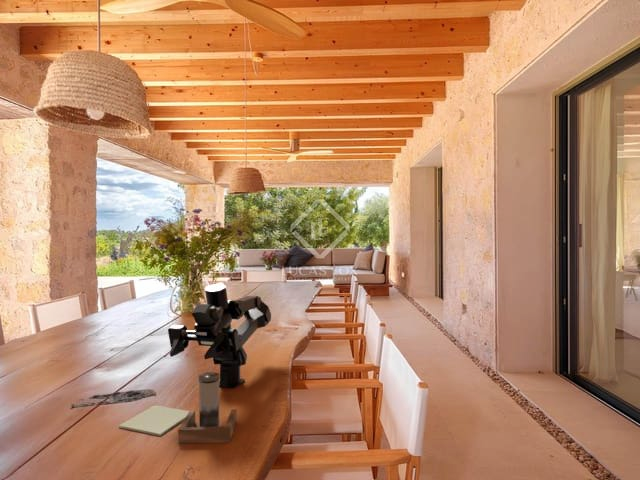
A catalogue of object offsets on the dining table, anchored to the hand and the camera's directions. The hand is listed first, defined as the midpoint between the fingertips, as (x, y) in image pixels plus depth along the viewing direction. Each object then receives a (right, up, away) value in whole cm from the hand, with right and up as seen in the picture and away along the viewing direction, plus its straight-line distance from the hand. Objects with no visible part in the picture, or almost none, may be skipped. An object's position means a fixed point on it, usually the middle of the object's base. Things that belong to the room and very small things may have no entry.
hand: (187, 356), depth 104 cm
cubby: (+7, -16, -4) cm, 18 cm away
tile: (-8, -16, +1) cm, 18 cm away
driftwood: (-24, -16, +14) cm, 32 cm away
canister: (+7, -16, -4) cm, 18 cm away
